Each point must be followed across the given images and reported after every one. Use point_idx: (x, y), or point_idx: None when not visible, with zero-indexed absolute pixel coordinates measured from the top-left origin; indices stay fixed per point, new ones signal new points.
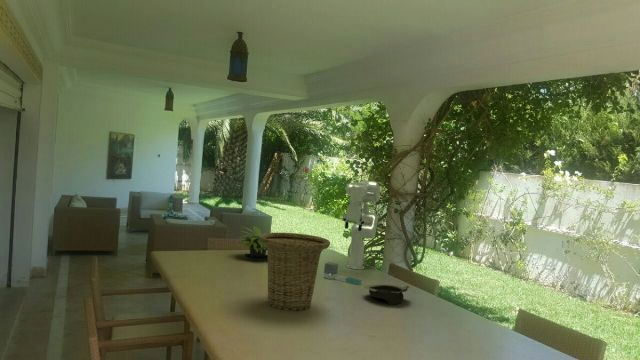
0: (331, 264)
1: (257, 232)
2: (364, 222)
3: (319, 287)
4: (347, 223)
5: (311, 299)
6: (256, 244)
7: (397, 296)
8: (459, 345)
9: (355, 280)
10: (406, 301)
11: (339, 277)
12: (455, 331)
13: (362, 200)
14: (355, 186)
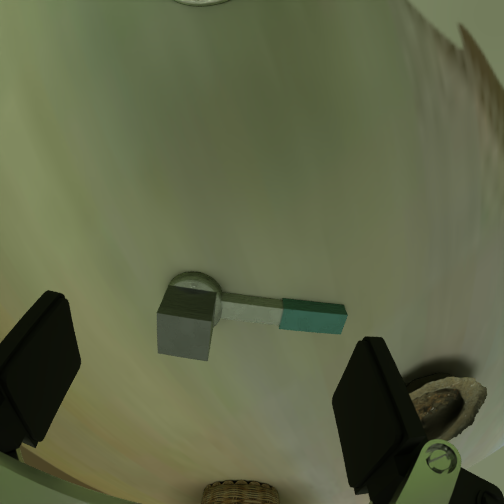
0: (194, 356)
1: None
2: (488, 494)
3: (230, 415)
4: (30, 409)
5: (278, 500)
6: None
7: (445, 422)
8: (471, 459)
9: (324, 331)
10: (467, 373)
11: (245, 320)
12: (488, 434)
13: None
14: None
